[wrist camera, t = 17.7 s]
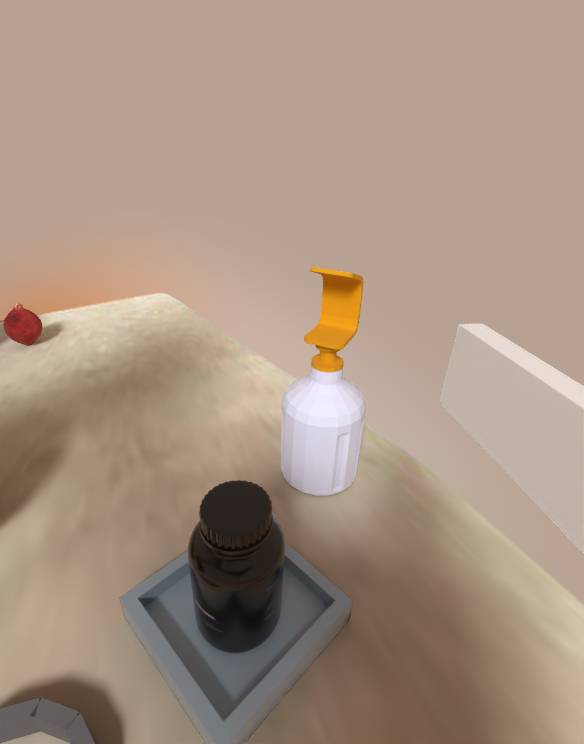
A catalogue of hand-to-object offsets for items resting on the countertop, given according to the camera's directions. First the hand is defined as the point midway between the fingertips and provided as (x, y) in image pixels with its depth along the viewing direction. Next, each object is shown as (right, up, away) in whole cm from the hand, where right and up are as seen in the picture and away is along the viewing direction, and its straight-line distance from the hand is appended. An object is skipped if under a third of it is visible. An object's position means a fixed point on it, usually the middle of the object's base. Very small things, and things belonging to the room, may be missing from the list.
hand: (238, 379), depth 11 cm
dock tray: (-3, -20, +22) cm, 30 cm away
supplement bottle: (-3, -19, +21) cm, 29 cm away
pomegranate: (-48, +5, +65) cm, 81 cm away
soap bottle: (+5, -12, +38) cm, 40 cm away
